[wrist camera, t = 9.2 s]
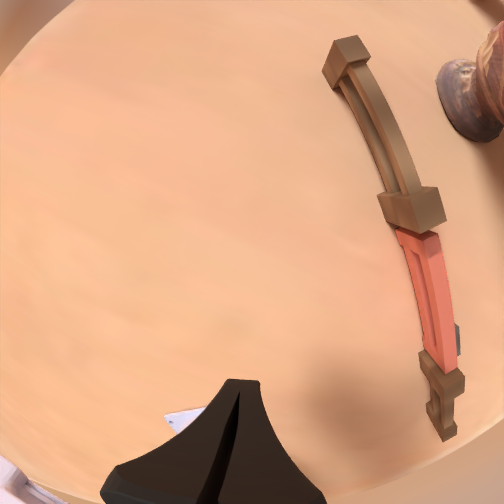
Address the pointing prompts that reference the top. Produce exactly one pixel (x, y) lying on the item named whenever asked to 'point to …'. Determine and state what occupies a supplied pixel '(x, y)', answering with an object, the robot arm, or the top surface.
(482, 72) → the mortar and pestle
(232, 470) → the robot arm
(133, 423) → the top surface
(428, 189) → the fence
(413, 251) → the gate
